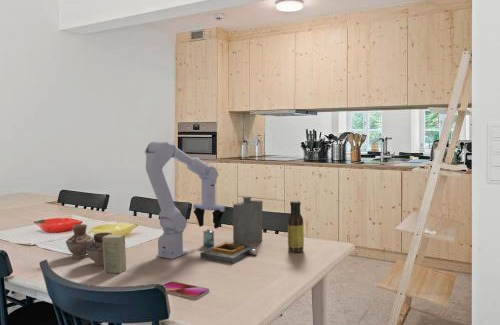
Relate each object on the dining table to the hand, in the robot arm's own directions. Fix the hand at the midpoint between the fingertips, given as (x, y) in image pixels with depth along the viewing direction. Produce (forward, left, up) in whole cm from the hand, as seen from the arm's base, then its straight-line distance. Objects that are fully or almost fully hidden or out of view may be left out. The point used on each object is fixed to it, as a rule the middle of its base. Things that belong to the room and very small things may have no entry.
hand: (208, 227), depth 169 cm
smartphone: (-45, -21, -8) cm, 50 cm away
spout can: (0, 0, -8) cm, 8 cm away
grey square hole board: (-7, -15, -8) cm, 19 cm away
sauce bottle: (+10, -35, -8) cm, 37 cm away
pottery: (-37, +27, -8) cm, 47 cm away
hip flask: (+12, -12, -8) cm, 19 cm away
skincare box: (-42, +10, -8) cm, 44 cm away
